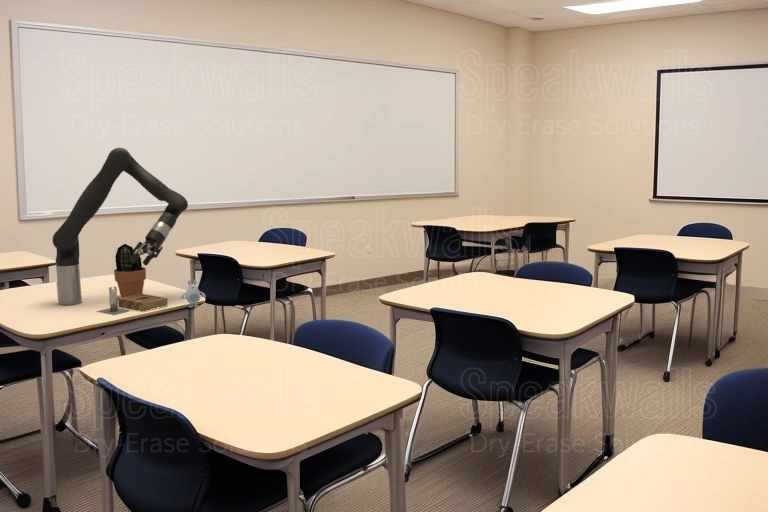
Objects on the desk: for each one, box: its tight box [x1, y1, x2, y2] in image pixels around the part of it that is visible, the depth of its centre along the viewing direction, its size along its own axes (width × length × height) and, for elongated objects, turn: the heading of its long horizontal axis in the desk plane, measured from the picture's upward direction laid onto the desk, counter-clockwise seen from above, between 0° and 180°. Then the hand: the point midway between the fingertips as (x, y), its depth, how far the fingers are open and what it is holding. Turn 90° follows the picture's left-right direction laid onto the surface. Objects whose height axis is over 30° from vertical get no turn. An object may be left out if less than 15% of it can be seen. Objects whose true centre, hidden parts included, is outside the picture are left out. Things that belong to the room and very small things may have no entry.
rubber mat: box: [95, 307, 131, 316], centre depth 286 cm, size 12×9×1 cm
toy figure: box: [179, 279, 207, 309], centre depth 294 cm, size 11×6×12 cm, turn 114°
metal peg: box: [108, 286, 119, 312], centre depth 285 cm, size 3×3×10 cm
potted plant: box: [113, 243, 147, 298], centre depth 312 cm, size 14×14×25 cm
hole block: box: [117, 293, 168, 312], centre depth 294 cm, size 17×12×4 cm
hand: (138, 263), depth 294 cm, fingers open, 8 cm apart
